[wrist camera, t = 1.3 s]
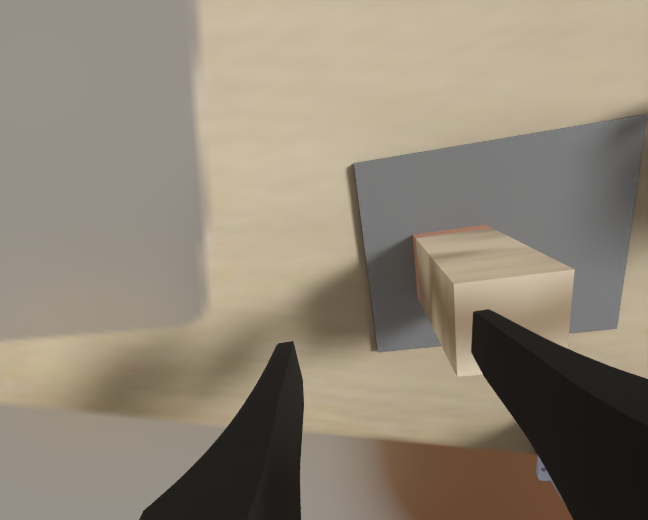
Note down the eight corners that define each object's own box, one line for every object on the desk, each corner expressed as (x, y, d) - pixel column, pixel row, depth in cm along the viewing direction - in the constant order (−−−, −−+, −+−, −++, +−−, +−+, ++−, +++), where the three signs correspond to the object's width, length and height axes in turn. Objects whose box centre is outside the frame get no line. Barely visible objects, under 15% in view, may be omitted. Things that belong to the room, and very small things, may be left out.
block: (485, 289, 23) (565, 367, 15) (417, 297, 24) (457, 376, 15) (485, 224, 22) (574, 269, 13) (412, 234, 22) (453, 283, 14)
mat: (611, 325, 24) (617, 328, 24) (377, 348, 26) (377, 352, 26) (640, 115, 20) (647, 114, 19) (353, 163, 22) (353, 163, 21)
